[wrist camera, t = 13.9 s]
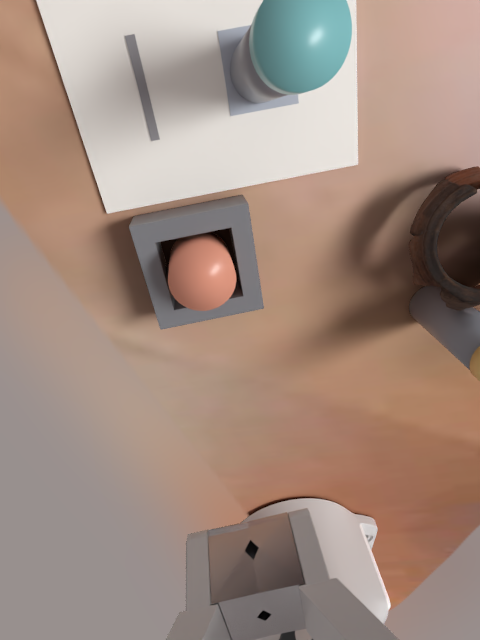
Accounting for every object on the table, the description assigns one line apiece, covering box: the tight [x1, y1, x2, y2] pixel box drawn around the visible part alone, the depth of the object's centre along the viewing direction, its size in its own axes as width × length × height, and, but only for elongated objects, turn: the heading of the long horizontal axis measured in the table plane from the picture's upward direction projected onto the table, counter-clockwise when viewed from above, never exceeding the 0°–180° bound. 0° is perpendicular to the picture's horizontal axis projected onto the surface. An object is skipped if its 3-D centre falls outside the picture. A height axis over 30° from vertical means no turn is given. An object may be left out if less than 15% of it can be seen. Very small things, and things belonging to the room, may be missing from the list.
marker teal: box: [230, 0, 352, 103], centre depth 17 cm, size 3×3×9 cm
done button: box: [168, 232, 236, 311], centre depth 25 cm, size 4×4×4 cm
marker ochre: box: [409, 286, 480, 381], centre depth 27 cm, size 3×3×9 cm
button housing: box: [129, 195, 264, 329], centre depth 25 cm, size 7×7×2 cm
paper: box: [36, 0, 358, 214], centre depth 22 cm, size 12×16×1 cm
